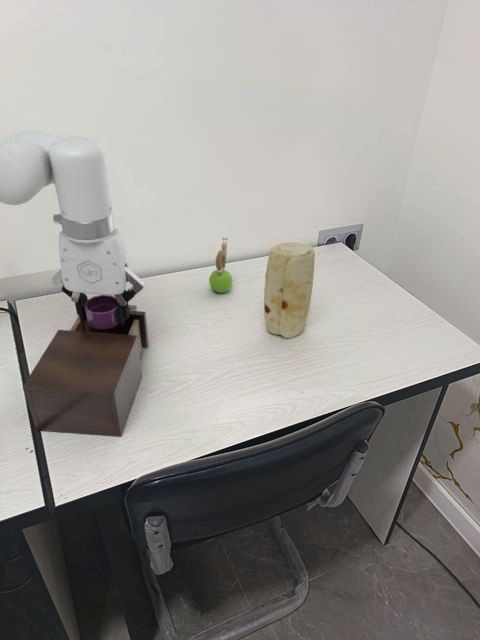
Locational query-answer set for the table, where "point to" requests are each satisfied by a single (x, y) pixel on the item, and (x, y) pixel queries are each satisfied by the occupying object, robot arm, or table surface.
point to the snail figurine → (221, 272)
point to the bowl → (101, 312)
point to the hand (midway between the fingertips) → (104, 318)
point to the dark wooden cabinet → (85, 383)
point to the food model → (288, 288)
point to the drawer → (122, 327)
